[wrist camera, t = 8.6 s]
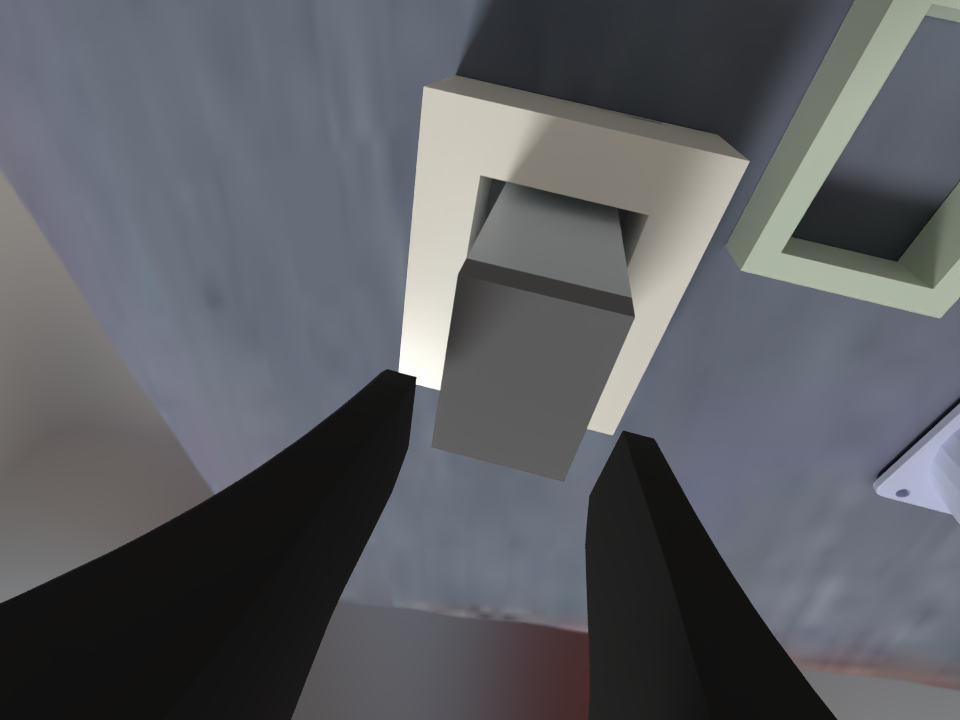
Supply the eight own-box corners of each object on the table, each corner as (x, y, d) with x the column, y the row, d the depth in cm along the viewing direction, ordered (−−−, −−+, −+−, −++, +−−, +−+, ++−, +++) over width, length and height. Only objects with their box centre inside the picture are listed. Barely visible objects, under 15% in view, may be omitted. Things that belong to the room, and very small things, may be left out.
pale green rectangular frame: (1131, 12, 11) (1221, 10, 10) (904, 289, 16) (940, 318, 14) (875, -40, 11) (922, -52, 10) (725, 246, 16) (740, 270, 14)
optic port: (717, 134, 14) (752, 163, 11) (609, 378, 20) (613, 440, 17) (455, 74, 15) (420, 87, 12) (424, 331, 20) (395, 383, 17)
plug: (615, 196, 15) (635, 317, 9) (571, 322, 18) (563, 481, 12) (511, 172, 15) (457, 274, 9) (485, 301, 18) (431, 447, 12)
